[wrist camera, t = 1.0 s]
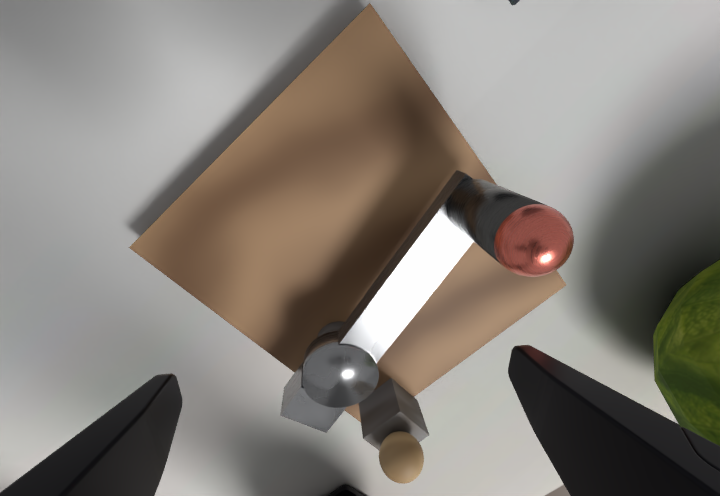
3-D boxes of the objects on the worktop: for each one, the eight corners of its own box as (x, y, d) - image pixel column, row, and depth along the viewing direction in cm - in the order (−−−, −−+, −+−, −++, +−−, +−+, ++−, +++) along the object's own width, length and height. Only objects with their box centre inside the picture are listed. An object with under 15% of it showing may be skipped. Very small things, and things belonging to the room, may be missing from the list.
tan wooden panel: (555, 279, 25) (644, 341, 18) (371, 416, 28) (387, 513, 21) (366, 11, 17) (395, -54, 11) (142, 238, 20) (53, 300, 14)
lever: (333, 407, 23) (339, 554, 15) (275, 384, 22) (251, 532, 14) (499, 196, 19) (625, 254, 11) (440, 152, 18) (535, 183, 10)
